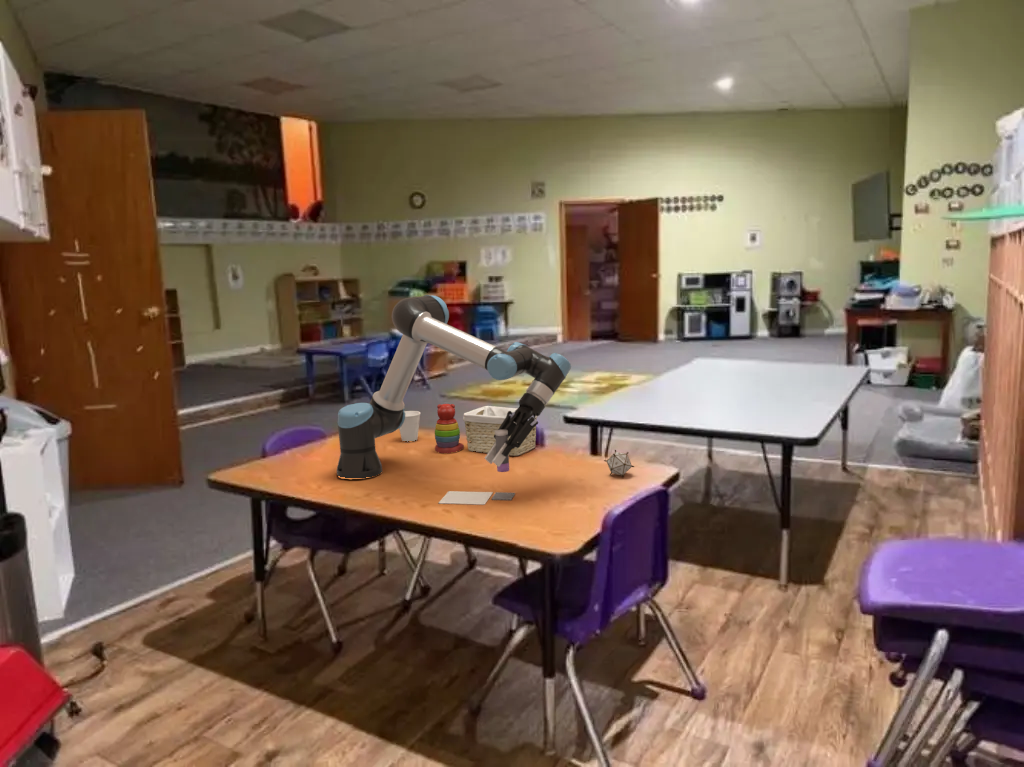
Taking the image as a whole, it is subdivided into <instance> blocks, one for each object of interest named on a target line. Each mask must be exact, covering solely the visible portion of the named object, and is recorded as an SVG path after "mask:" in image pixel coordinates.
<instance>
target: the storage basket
mask: <svg viewBox="0 0 1024 767" xmlns="http://www.w3.org/2000/svg"><path fill="white" fill-rule="evenodd" d="M518 408H519V407H517V408H515V407H504V406H494V405H493V406H491V405H485V406H482V407H481V406H480V407H478V408H476V409H475V408H474V409H473V410H470V411H467V412H464V413H463V417H462V421H463V422H464V426H465V428H464V429H465V436H466V441H467V444H466V445H467V450H468V451H469V452H473V451H476V452H475V453H477V452H478V453H482V452H483V453H484V454H488V452H489V451H490V450H491V448H492V446H493V445H494V443H495V442H496V439H495V438H494V435H495V431H496V430H498V429H499V427H500V426H501V424H502V423H503V421H504V420H505V418H506V416H507V413H508V412H509V411H511V412H515V411H516V410H517V409H518ZM538 417H539V416H535V419H536V420H537V419H538ZM537 421H538V420H537ZM514 423H515V422H514ZM510 436H511V435H510ZM510 436H509V438H510ZM509 438H508V440H509ZM536 438H537V425H536V426H535V427H534V428H533V429H532V430H531V432H530V433H529V434H528V436H527V437H526V439H525V440H524V441H523V443H522V444H521V445H520V447H519V448H517V447H515V448H513V449H512V450H511V451H510V453H509V456H514V457H515V456H516V457H517V456H520V455H523V454H525V453H527V452H530V451H531V450H533V449H535V447H536V441H537V439H536ZM517 443H518V442H517Z"/></svg>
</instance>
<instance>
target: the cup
mask: <svg viewBox="0 0 1024 767" xmlns="http://www.w3.org/2000/svg"><path fill="white" fill-rule="evenodd" d="M404 413H405V420H404V423H403V424H402V426H401V427H400V428H399V434H400V437H401V441H402V442H403V441H407V442H406V443H409V442H408V441H414V442H416V441H417V440H418V437H419V426H420V417H421V414H422V413H421V412H420V411H418V410H404ZM415 440H416V441H415Z"/></svg>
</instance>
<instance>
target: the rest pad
mask: <svg viewBox="0 0 1024 767" xmlns="http://www.w3.org/2000/svg"><path fill="white" fill-rule="evenodd" d="M515 496H516V492H503V491H501V492H500V491H499V492H498V491H497V492H496V491H495V493H494V494H493V495H492V496H491V500H492V501H513V499H514V498H515ZM512 498H513V499H512Z"/></svg>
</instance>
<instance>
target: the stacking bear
mask: <svg viewBox="0 0 1024 767" xmlns="http://www.w3.org/2000/svg"><path fill="white" fill-rule="evenodd" d="M436 408H437V412H436V413H437V417H438V419H437V421H436V423H435V426H434V427H435V429H434V440H435V442H436V444H435V446H434V451H435V452H436V453H438V452H439V454H444V453H447V454H452V453H451V452H455V453H457V452H456V451H458V452H460V451H462V450H464V448H465V445H464V443H462V442H460V437H461V432H460V427H459V423H458V421H457V419H456V418H455V416H456V405H455V404H454V403H450V404H449V403H443V404H441V403H439V404H437V406H436ZM461 449H462V450H461ZM459 450H460V451H459Z"/></svg>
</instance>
